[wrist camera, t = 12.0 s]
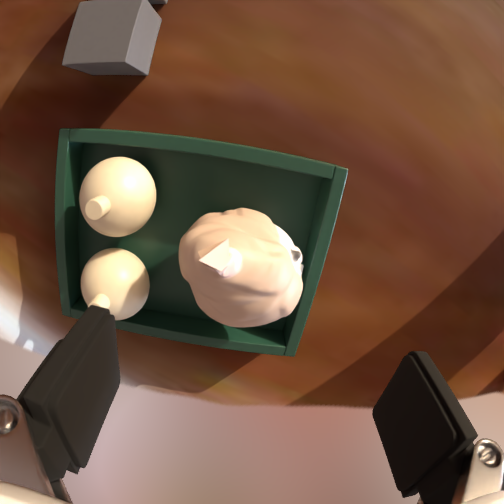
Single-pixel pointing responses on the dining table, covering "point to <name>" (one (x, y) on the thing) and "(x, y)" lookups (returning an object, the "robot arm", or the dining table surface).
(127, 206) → the white bulb
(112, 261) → the white bulb
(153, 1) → the grey block
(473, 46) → the dining table surface
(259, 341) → the green tray
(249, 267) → the garlic bulb
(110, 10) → the grey block
